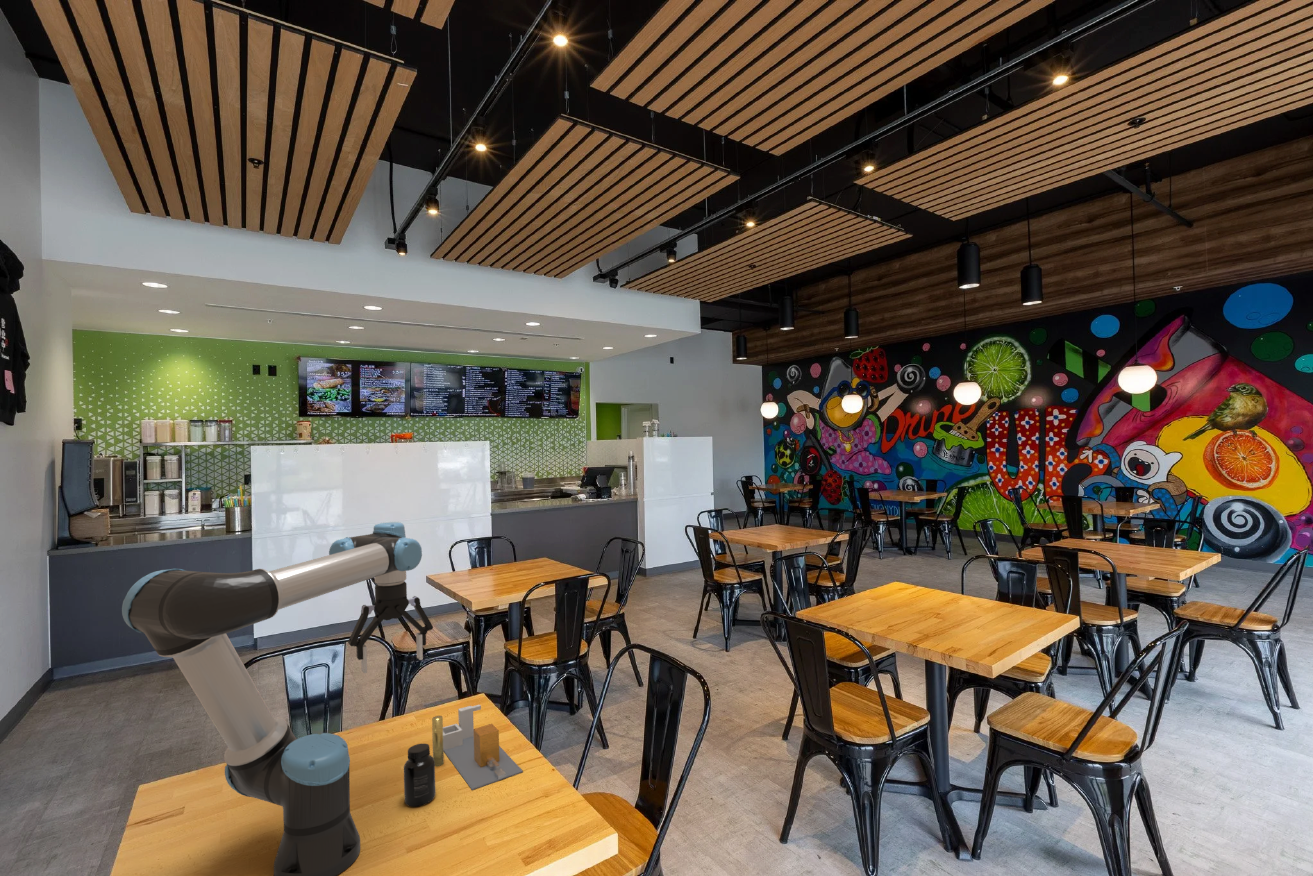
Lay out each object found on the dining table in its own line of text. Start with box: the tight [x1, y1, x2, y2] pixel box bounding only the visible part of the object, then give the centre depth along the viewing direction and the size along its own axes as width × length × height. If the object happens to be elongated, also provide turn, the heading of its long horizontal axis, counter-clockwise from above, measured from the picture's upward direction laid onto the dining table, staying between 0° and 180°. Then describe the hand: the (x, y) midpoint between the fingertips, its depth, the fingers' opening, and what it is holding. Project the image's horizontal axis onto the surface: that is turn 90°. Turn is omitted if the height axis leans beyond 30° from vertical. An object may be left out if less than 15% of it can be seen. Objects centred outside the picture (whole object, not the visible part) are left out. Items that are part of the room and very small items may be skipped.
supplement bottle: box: [403, 742, 437, 808], centre depth 142 cm, size 7×7×12 cm
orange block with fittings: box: [474, 723, 506, 780], centre depth 154 cm, size 14×5×8 cm, turn 35°
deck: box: [443, 704, 524, 791], centre depth 161 cm, size 30×13×8 cm, turn 35°
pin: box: [431, 715, 445, 768], centre depth 158 cm, size 3×3×12 cm
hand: (392, 665), depth 156 cm, fingers open, 13 cm apart
